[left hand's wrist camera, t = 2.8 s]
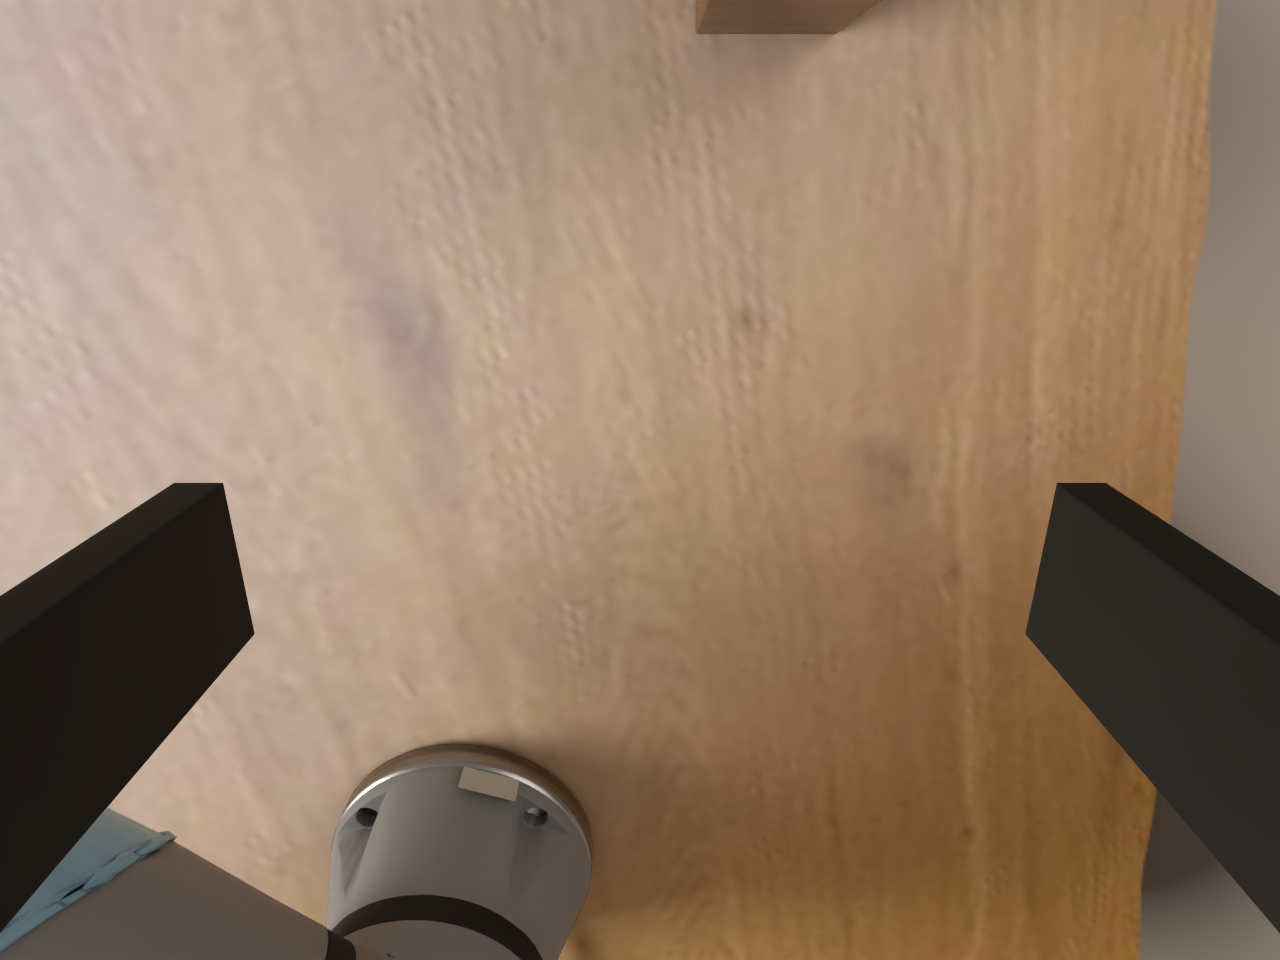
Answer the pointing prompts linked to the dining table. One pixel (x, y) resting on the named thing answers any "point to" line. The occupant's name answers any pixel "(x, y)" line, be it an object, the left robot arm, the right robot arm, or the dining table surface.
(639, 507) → the dining table surface
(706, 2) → the box
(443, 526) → the dining table surface
